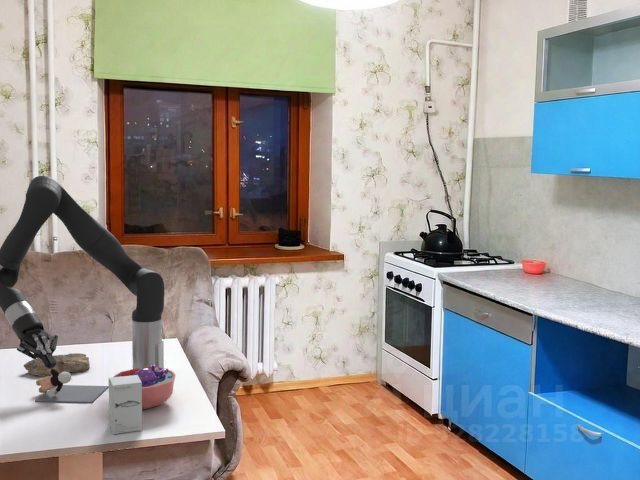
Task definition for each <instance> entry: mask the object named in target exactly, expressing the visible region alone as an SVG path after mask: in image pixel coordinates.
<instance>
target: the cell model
mask: <svg viewBox="0 0 640 480" xmlns="http://www.w3.org/2000/svg"><path fill="white" fill-rule="evenodd" d="M132 375H138V376H139V379H140V380H141V382H142V410H147V409H150V408H154V407H158V406H161V404H164V403H165V402H167V401H168V400H169V399H170V398H171V397H172V395H173V393H174V386H175V385H174V384H175V379H176V373H175V372H174V371H173V370H170V369H169V368H165V367H164V368H161V367H155V365H152V366H146V367H141V368H135V369H133V368H132V369H128V370H123V371H120V372H118V373H116V374H115V375H114V376H113V377H121V376H132Z"/></svg>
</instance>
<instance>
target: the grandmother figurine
mask: <svg viewBox="0 0 640 480" xmlns="http://www.w3.org/2000/svg"><path fill="white" fill-rule="evenodd" d="M47 371H48V372H51V374H52V375H53V376H43V377H40V378H38V379H37V380H36V381H35V384H36V386H38V387H39V388H38V392H39V393H41V394H45V393H46V392H47V391H49V390H50V389H53V388H55V387H56V386H57V388H56V390H55V391H54V395H56V394H57V393H58V392H59V391H60V390H61V388H62V386H63V385H66V384H68V383H69V382H71V380H72V375H71V373H68V372H62V373H59V372H57V371H56V370H54V369H51V368H50V369H47Z"/></svg>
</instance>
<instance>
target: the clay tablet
mask: <svg viewBox="0 0 640 480" xmlns="http://www.w3.org/2000/svg"><path fill="white" fill-rule="evenodd" d="M53 357H54V358H55V360H56V365H55V367H54V368H51V369H54V370H56V371H57V372H59V373H62V372H68V373H70V374H71V373H77V372H82V371H86V370H88V369H90V360H89V359H90V357H88V356H87V354H85V353H79V352H77V353H76V352H75V353H71V352H70V353H68V354H58V355H57V354H56V355H53ZM23 367H24V369H25V370H26V371H28V372H29V373H30V374H31V375H32V376H40V377H48V376H53V375H52V374H51V372H48V371H47V369H48V367H46V366H45V365H44V363H43V362H42V360H41V359H39V358H36V359H33V358H32V359H31V360H30V361H27V362H26V363H24V364H23Z"/></svg>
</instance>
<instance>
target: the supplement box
mask: <svg viewBox="0 0 640 480" xmlns="http://www.w3.org/2000/svg"><path fill="white" fill-rule="evenodd" d="M108 386H109V388H108V425H109V428H110V431H111V433H112V435H117V434H125V433H130V432H131V433H132V432H140V431H143V409H142V382H141V380H140V379H139V376H138V375H132V376H121V377H108Z"/></svg>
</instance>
